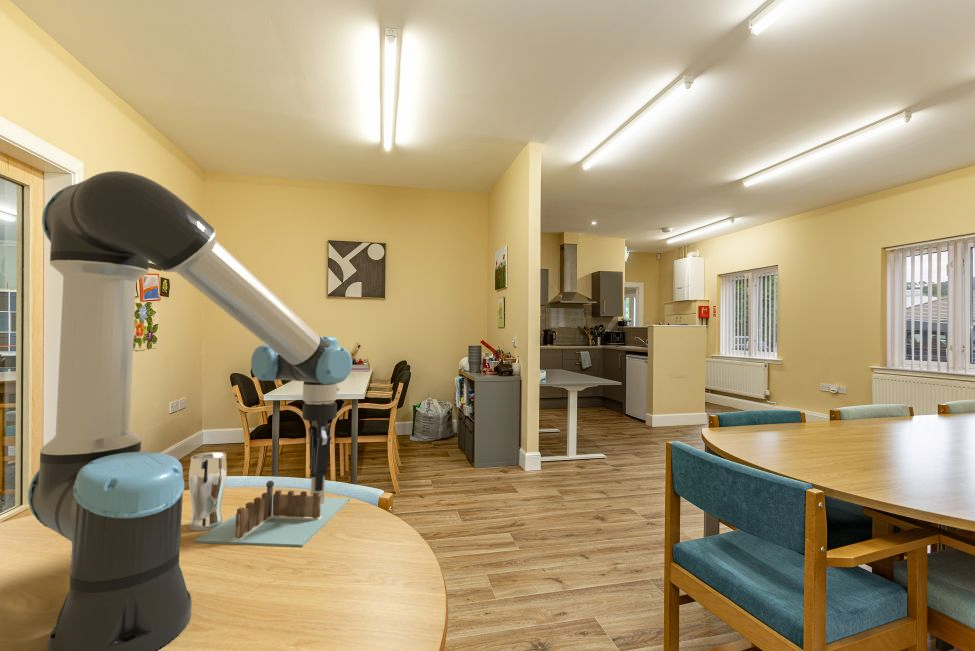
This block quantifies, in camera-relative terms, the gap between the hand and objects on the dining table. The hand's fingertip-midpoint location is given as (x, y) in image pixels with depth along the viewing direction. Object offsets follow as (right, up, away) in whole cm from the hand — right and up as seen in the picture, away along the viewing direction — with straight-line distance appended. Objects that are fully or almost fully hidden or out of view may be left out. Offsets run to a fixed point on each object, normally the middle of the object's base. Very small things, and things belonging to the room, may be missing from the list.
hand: (317, 503), depth 103 cm
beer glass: (-22, -2, -7) cm, 23 cm away
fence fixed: (-10, -2, -8) cm, 13 cm away
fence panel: (-4, -2, -3) cm, 5 cm away
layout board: (-7, -2, -3) cm, 8 cm away
